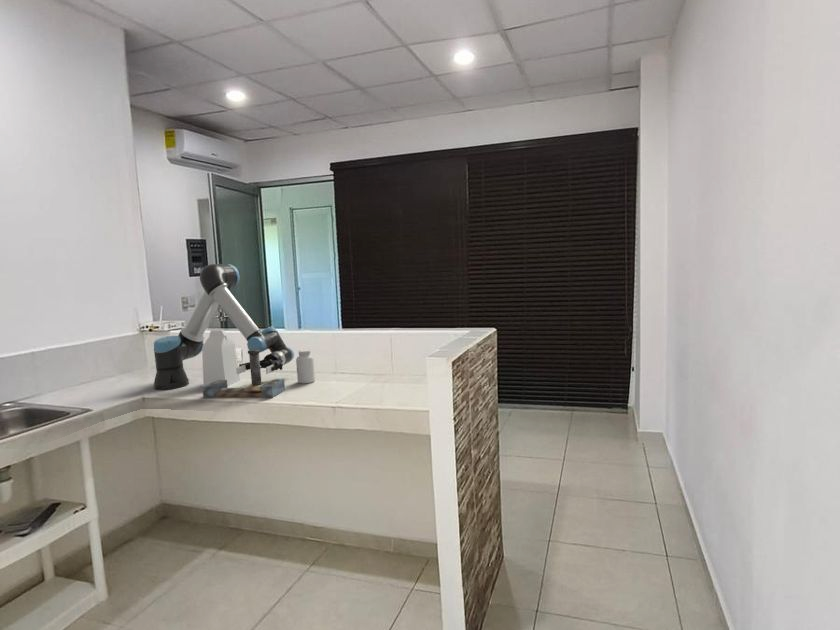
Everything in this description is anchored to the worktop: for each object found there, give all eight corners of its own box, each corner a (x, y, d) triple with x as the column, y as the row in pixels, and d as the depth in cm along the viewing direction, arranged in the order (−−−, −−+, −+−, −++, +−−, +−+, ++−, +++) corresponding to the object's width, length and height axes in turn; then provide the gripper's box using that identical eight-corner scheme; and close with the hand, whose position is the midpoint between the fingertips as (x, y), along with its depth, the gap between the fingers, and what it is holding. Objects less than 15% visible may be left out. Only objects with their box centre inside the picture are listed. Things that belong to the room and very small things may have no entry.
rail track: (203, 398, 218) (202, 385, 218) (218, 390, 230) (217, 378, 230) (272, 397, 213) (271, 385, 213) (285, 390, 225) (284, 378, 224)
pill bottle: (317, 379, 242) (315, 349, 240) (309, 384, 234) (307, 352, 232) (303, 379, 244) (300, 348, 242) (294, 383, 236) (292, 352, 234)
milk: (203, 386, 240) (198, 332, 237) (218, 380, 251) (213, 328, 248) (225, 386, 237) (220, 331, 234) (240, 380, 248) (235, 328, 245)
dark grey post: (245, 392, 217) (241, 352, 215) (254, 387, 225) (250, 348, 223) (260, 392, 216) (256, 352, 214) (268, 387, 224) (265, 348, 222)
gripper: (299, 368, 236) (280, 379, 215) (250, 368, 240) (225, 379, 219) (298, 352, 235) (278, 361, 214) (248, 353, 239) (224, 362, 218)
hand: (251, 371), depth 216 cm, fingers open, 13 cm apart
